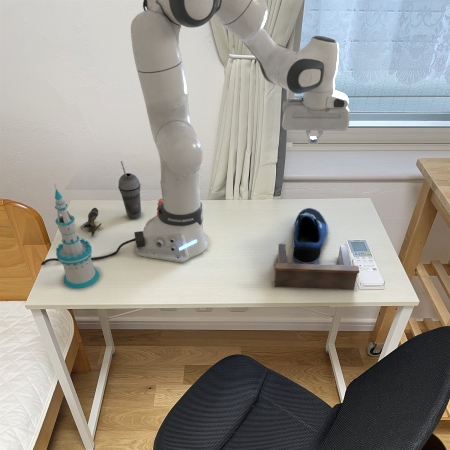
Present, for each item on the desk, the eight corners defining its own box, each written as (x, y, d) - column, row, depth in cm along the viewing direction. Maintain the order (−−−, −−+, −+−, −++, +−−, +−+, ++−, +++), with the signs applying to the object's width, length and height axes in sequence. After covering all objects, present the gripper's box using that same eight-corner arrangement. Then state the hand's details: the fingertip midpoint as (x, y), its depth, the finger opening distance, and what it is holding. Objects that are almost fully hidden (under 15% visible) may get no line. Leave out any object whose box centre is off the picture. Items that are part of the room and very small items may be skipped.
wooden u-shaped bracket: (273, 287, 129) (274, 268, 124) (273, 257, 139) (274, 238, 135) (355, 290, 127) (359, 271, 123) (348, 259, 138) (352, 240, 133)
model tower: (64, 269, 136) (35, 176, 116) (99, 264, 138) (75, 172, 118) (63, 290, 129) (31, 195, 109) (99, 285, 130) (74, 190, 110)
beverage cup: (143, 221, 155) (134, 166, 142) (122, 222, 155) (111, 166, 142) (146, 210, 161) (138, 156, 147) (125, 210, 161) (116, 156, 148)
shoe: (328, 219, 155) (333, 186, 146) (324, 274, 133) (330, 239, 125) (296, 216, 156) (299, 183, 148) (287, 270, 134) (290, 235, 126)
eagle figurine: (109, 230, 150) (103, 212, 155) (94, 218, 144) (89, 200, 149) (92, 243, 151) (87, 225, 156) (76, 232, 146) (71, 214, 151)
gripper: (283, 101, 135) (280, 146, 144) (353, 102, 133) (346, 148, 142) (282, 94, 139) (279, 138, 148) (351, 94, 138) (343, 139, 147)
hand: (312, 143), depth 145 cm, fingers closed
